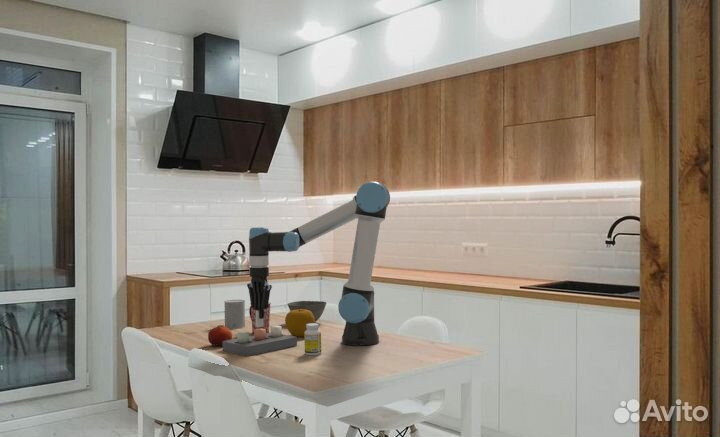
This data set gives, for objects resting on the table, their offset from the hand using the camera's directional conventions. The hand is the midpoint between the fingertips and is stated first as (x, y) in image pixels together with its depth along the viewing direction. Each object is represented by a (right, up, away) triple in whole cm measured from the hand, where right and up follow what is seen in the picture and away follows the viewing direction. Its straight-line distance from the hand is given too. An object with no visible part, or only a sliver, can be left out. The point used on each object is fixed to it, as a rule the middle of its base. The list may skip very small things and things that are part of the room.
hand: (259, 326), depth 237 cm
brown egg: (0, -5, 0) cm, 5 cm away
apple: (+14, -9, +24) cm, 29 cm away
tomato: (-17, -9, +6) cm, 20 cm away
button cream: (+6, -5, +6) cm, 10 cm away
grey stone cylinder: (-20, -9, +49) cm, 53 cm away
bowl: (+14, -9, +56) cm, 58 cm away
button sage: (-5, -5, -6) cm, 9 cm away
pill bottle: (+22, -8, -12) cm, 26 cm away
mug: (-6, -9, +33) cm, 35 cm away
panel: (0, -8, 0) cm, 8 cm away
